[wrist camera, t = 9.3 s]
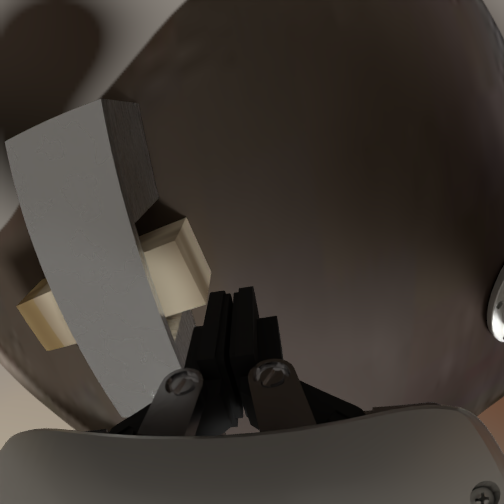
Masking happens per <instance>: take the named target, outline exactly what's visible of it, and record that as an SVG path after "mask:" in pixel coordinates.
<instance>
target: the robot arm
mask: <svg viewBox="0 0 504 504" xmlns="http://www.w3.org/2000/svg"><path fill="white" fill-rule="evenodd" d="M487 325H488V329H489V331H490V332H491V334H492V335H493V336H494V337H495V338H496V339H497V340H498V341H500V342H504V266H503V268H502V269H501V271H500V273H499V275H498V278H497V280H496V282H495V284H494V287H493V290H492V292H491V296H490V300H489V303H488V310H487ZM243 407H244V410H245V413H246V416H247V417H248V418H249V421H250V424H251V425H252V426H254V427H255V428H257V429H258V430H259V431H260V432H257V433H246V434H233V435H226V433H225V431H226V430H228V429H229V428H230V427H238V418H243ZM0 504H504V454H503V452H502V451H501V449H500V447H499V445H498V444H497V442H496V441H495V439H494V437H493V436H492V435H491V433H490V432H489V430H488V429H487V427H486V426H485V425H484V424H483V423H482V421H481V420H479V418H477V417H476V416H475V415H474V414H473V413H471V412H469V411H468V410H466V409H463V408H460V407H455V406H447V405H440V404H437V403H433V402H426V403H418V404H408V405H397V406H385V407H373V408H372V411H363V410H362V409H360V408H359V407H357V406H355V405H353V404H351V403H348V402H346V401H344V400H341V399H339V398H337V397H335V396H332V395H330V394H328V393H326V392H323V391H321V390H319V389H317V388H315V387H313V386H310V385H308V384H306V383H304V382H302V381H300V380H299V379H298V376H297V374H296V371H295V369H294V367H293V366H292V364H290V363H289V362H288V361H285V360H283V354H282V347H281V340H280V333H279V327H278V320H277V316H273V317H266V318H259V314H258V308H257V303H256V298H255V293H254V288H253V286H252V287H245V288H239V292H237V293H234V299H233V302H232V297H231V294H226V293H225V291H218V292H211V293H210V296H209V301H208V305H207V310H206V315H205V320H204V325H203V326H197V327H194V329H193V332H192V336H191V341H190V345H189V349H188V353H187V357H186V362H185V366H184V368H181V369H178V370H175V371H173V372H171V373H169V374H168V375H167V376H166V377H165V378H164V379H163V381H162V382H161V384H160V386H159V388H158V390H157V392H156V395H155V397H154V399H153V401H152V403H150V404H149V405H147V406H146V407H144V408H142V409H141V410H139V411H138V412H136V413H135V414H133V415H132V416H130V417H128V418H127V419H125V420H124V421H122V422H120V423H119V424H117V425H116V426H115V427H113V428H112V429H111V430H110V432H108V430H107V429H101V430H93V431H75V430H64V429H34V430H28V431H24V432H21V433H18V434H16V435H14V436H12V437H11V438H10V439H9V440H8V441H7V442H6V443H5V445H4V446H3V448H2V449H1V450H0Z"/></svg>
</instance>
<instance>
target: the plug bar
mask: <svg viewBox="0 0 504 504" xmlns="http://www.w3.org/2000/svg"><path fill="white" fill-rule="evenodd" d="M139 239H140V242H141V245H142V249H143V252H144V255H145V258H146V262H147V265H148V268H149V271H150V274H151V277H152V280H153V283H154V286H155V289H156V292H157V295H158V298H159V300H160V303H161V306H162V309H163V312H164V314H165V317H167V316H171V315H174V314H177V313H180V312H183V311H187V310H190V309H193V308H196V307H199V306H202V305H205V304H206V302H207V296H208V289H209V283H210V276H211V270H210V268H209V266H208V264H207V262H206V260H205V257H204V255H203V253H202V251H201V249H200V246H199V244H198V242H197V240H196V238H195V235H194V233H193V231H192V229H191V226H190V224H189V222H188V220H187V217H186V218H184V219H181V220H178V221H176V222H173V223H171V224H168V225H166V226H163V227H161V228H159V229H156V230H154V231H151V232H149V233H146V234H144V235H141V236H139ZM17 308H18V309H19V311H20V313H21V314H22V316H23V317H24V319H25V320H26V322H27V323H28V325H29V326H30V328H31V329H32V331H33V332H34V334H35V335H36V336H37V338H38V339H39V341H40V342H41V344H42V345H43V346H44V348H45V349H46V350H47V351H50V350H54V349H58V348H61V347H65V346H68V345H72V344H76V341H75V339H74V337H73V335H72V333H71V331H70V329H69V327H68V325H67V323H66V321H65V319H64V317H63V315H62V313H61V311H60V309H59V306H58V304H57V302H56V300H55V298H54V296H53V293H52V291H51V289H50V286H49V284H48V282H47V279H46V278H44V279H42V280H41V281H40V282H39V283H38V284H37V285H36V286H35V287H34V288H33V289H32V290H31V291H30V292H29V293H28V294H27V296H26V297H25V298H24V299H23V300H22V301H21V302H20V303H19V304H18V305H17Z"/></svg>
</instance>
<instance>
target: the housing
mask: <svg viewBox="0 0 504 504" xmlns="http://www.w3.org/2000/svg"><path fill="white" fill-rule="evenodd" d="M5 144H6V150H7V155H8V160H9V164H10V169H11V173H12V177H13V181H14V185H15V189H16V192H17V196H18V199H19V203H20V206H21V210H22V213H23V216H24V219H25V223H26V226H27V229H28V232H29V235H30V237H31V240H32V243H33V246H34V249H35V251H36V254H37V257H38V259H39V262H40V265H41V267H42V270H43V272H44V275H45V277H46V279H47V282H48V284H49V286H50V289H51V291H52V293H53V296H54V298H55V300H56V302H57V304H58V306H59V309H60V311H61V313H62V315H63V317H64V319H65V321H66V323H67V325H68V327H69V329H70V331H71V333H72V335H73V337H74V339H75V341H76V343H77V344H78V346H79V348H80V350H81V352H82V354H83V355H84V357H85V359H86V361H87V362H88V364H89V366H90V368H91V369H92V371H93V373H94V374H95V376H96V378H97V379H98V381H99V383H100V384H101V386H102V387H103V389H104V391H105V392H106V394H107V395H108V397H109V398H110V400H111V401H112V403H113V405H114V406H115V408H116V409H117V410H118V412H119V413H120V415H121V416H122V417H130V416H132V415H133V414H135V413H136V412H138V411H139V410H141V409H142V408H144V407H146V406H147V405H149V404H150V403H152V401H153V399H154V397H155V395H156V392H157V390H158V388H159V386H160V384H161V382H162V381H163V379H164V378H165V377H166V376H167V375H168V374H169V373H171V372H173V371H175V370H178V369H181V368H184V366H185V362H186V357H187V353H188V349H189V345H190V341H191V336H192V332H193V329H194V327H196V325H195V322H194V319H193V316H192V313H191V309H190V310H187V311H183V312H180V313H177V314H174V315H171V316H167V317H165V314H164V312H163V309H162V306H161V303H160V300H159V298H158V295H157V292H156V289H155V286H154V283H153V280H152V277H151V274H150V271H149V268H148V265H147V262H146V258H145V255H144V252H143V249H142V245H141V242H140V239H139V235H138V232H137V229H136V225H135V223H136V222H137V220H138V219H139V218H140V217H141V216H142V215H143V214H144V213H145V212H146V211H147V210H148V209H149V208H150V207H151V206H152V205H153V204H154V202H155V201H156V200H157V199H158V198H159V195H158V191H157V187H156V183H155V179H154V174H153V170H152V166H151V161H150V157H149V152H148V148H147V143H146V138H145V134H144V129H143V124H142V119H141V114H140V108H139V103H132V102H125V101H117V100H108V99H99V100H96V101H93V102H91V103H88V104H85V105H83V106H80V107H78V108H75V109H73V110H70V111H68V112H66V113H63V114H61V115H59V116H56V117H54V118H52V119H49V120H47V121H45V122H43V123H41V124H39V125H37V126H34V127H32V128H30V129H28V130H26V131H25V132H22V133H20V134H18V135H16V136H14V137H13V138H11V139H9V140H7V141H6V142H5Z"/></svg>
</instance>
